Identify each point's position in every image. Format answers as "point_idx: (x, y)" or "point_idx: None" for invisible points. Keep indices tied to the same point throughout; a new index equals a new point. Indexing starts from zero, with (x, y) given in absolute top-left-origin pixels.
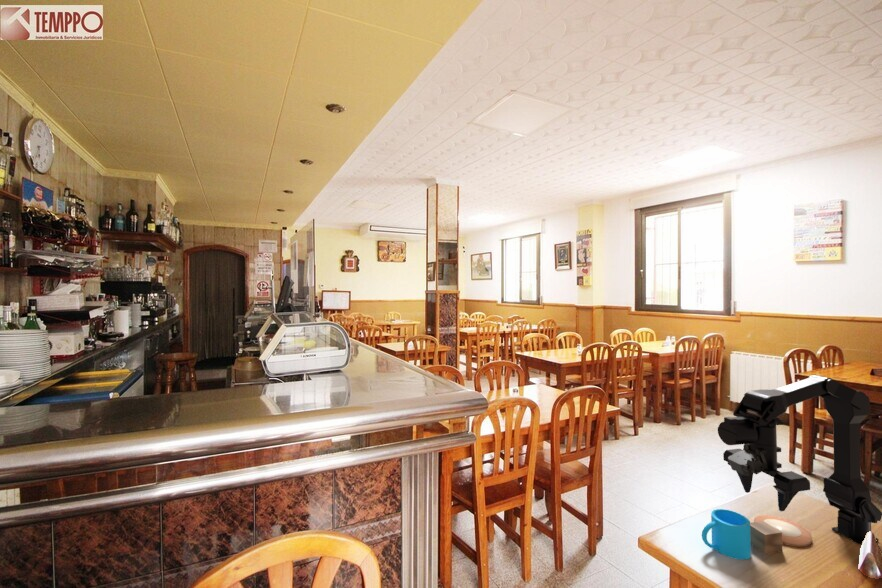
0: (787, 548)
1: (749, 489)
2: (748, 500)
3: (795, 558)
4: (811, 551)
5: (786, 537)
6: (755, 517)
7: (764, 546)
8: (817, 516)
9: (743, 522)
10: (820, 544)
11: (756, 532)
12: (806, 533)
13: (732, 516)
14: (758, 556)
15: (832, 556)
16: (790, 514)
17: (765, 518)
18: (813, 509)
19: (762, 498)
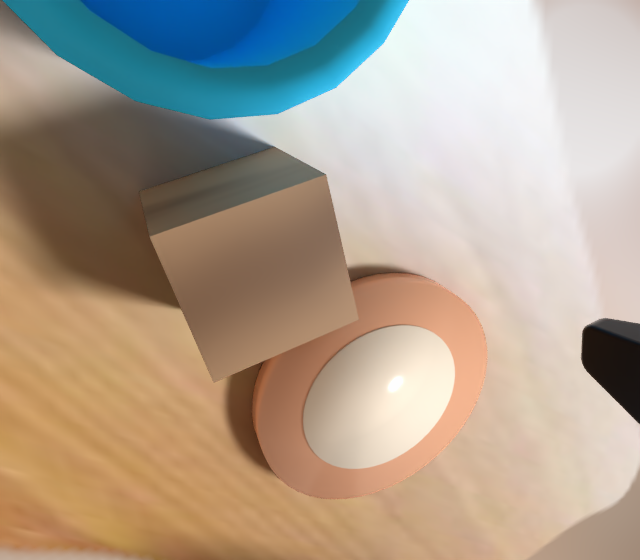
0: None
1: (616, 386)
2: None
3: (125, 350)
4: (214, 449)
5: (297, 387)
6: (476, 316)
7: (148, 202)
8: (467, 545)
9: (218, 65)
10: (280, 500)
11: (229, 199)
12: (337, 484)
13: (337, 3)
14: (93, 120)
15: (184, 515)
16: (490, 468)
17: (462, 360)
18: (506, 545)
19: (600, 412)
